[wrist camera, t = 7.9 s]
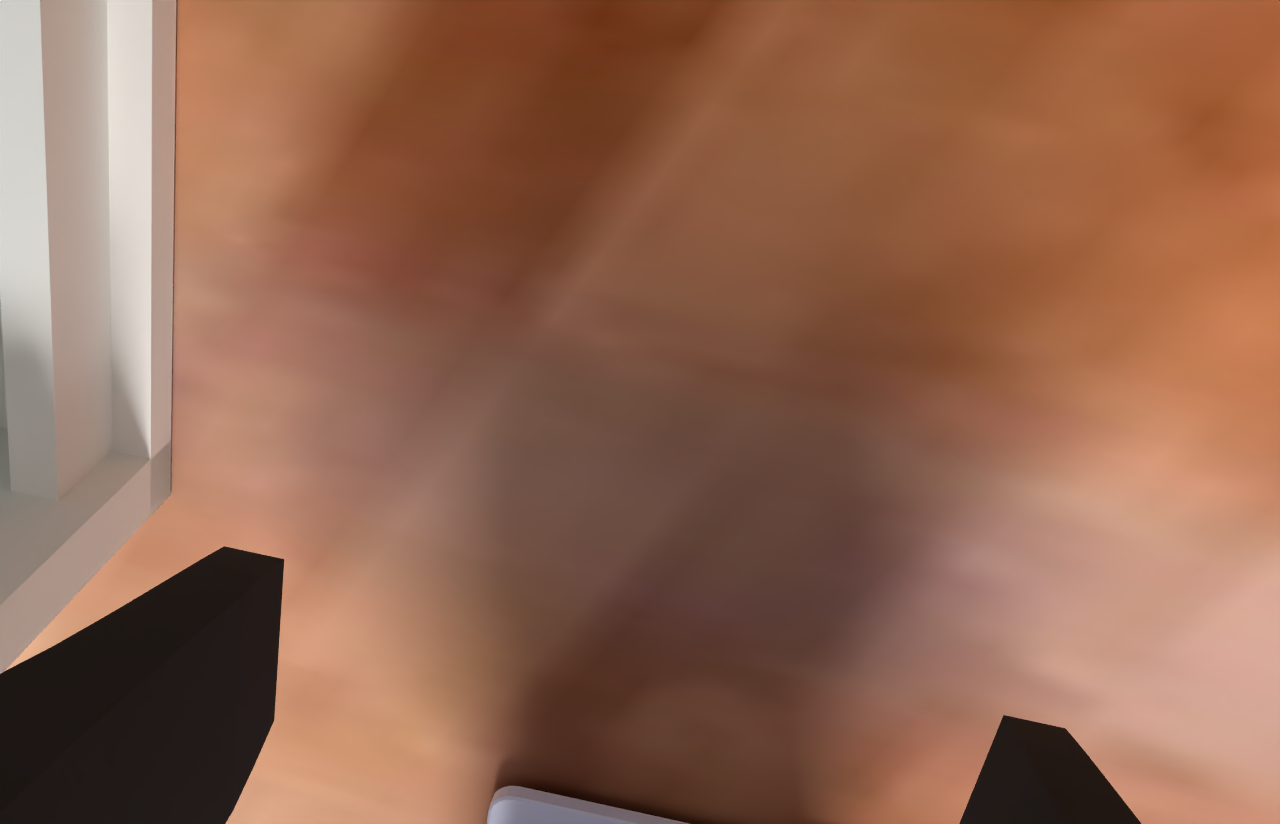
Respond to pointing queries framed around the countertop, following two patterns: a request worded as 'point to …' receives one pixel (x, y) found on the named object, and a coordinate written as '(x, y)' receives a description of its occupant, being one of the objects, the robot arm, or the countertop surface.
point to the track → (82, 293)
